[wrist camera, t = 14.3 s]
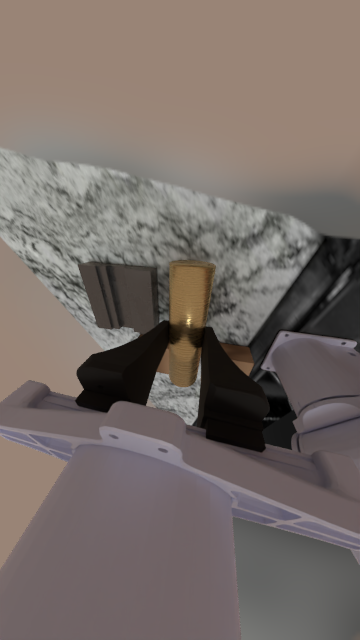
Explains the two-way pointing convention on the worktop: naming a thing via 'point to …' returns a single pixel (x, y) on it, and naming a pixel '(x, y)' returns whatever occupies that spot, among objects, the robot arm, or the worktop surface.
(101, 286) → the v block
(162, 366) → the beam
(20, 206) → the worktop surface
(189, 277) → the axle
